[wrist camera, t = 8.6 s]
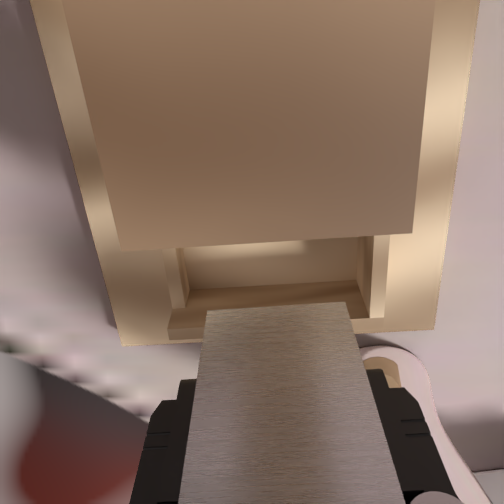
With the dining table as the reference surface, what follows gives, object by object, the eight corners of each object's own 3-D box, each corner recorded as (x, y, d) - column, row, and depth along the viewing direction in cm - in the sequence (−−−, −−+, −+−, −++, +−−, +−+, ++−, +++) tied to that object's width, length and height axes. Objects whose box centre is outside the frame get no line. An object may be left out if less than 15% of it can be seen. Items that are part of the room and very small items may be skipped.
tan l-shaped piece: (32, -34, 17) (-527, -98, 5) (478, -74, 16) (1121, -266, 4) (126, 334, 25) (5, 654, 13) (427, 317, 25) (596, 638, 12)
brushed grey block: (207, 310, 14) (157, 638, 7) (345, 301, 14) (442, 629, 7) (222, 408, 16) (196, 747, 9) (343, 402, 15) (418, 740, 8)
